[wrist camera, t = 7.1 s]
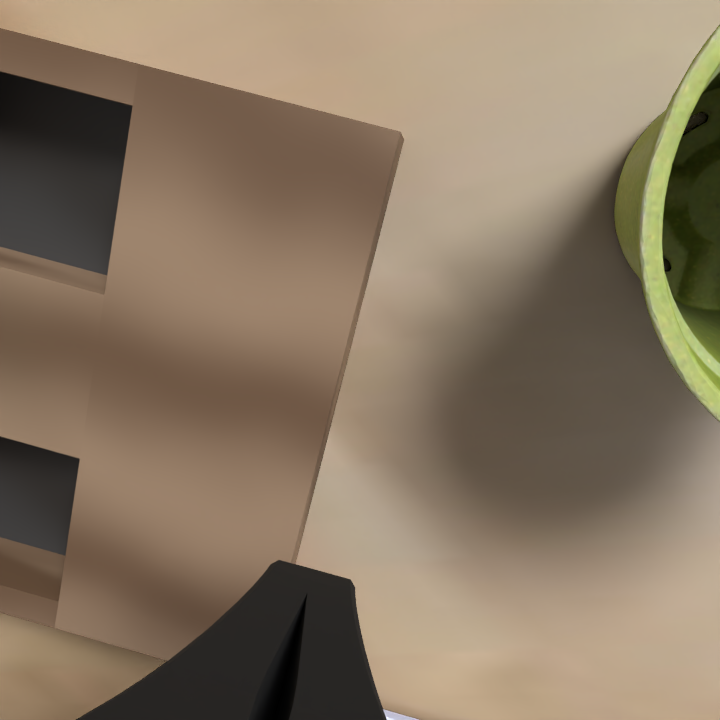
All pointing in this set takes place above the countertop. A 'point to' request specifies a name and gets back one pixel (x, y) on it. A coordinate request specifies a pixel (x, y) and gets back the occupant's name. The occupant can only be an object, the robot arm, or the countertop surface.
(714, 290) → the plant pot
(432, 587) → the countertop surface
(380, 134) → the tray
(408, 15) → the countertop surface
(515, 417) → the countertop surface
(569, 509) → the countertop surface
